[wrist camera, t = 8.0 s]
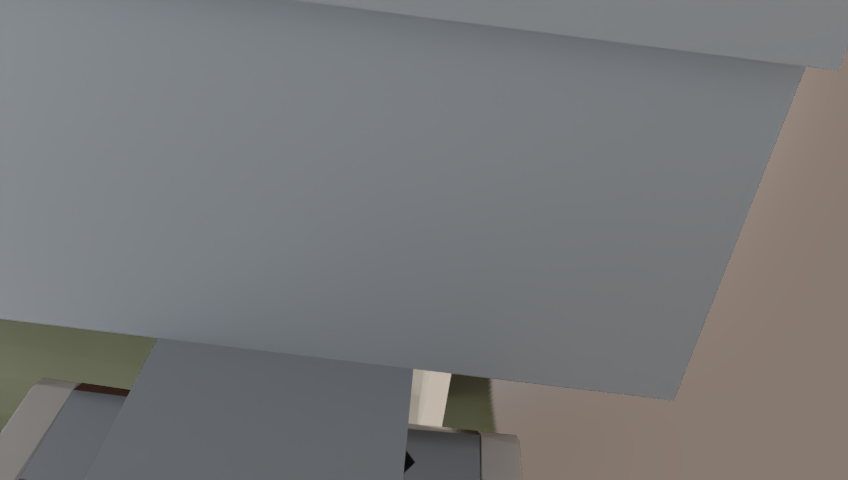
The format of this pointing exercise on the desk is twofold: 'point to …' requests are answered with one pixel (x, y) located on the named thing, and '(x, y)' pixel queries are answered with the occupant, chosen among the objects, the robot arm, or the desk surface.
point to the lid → (379, 203)
